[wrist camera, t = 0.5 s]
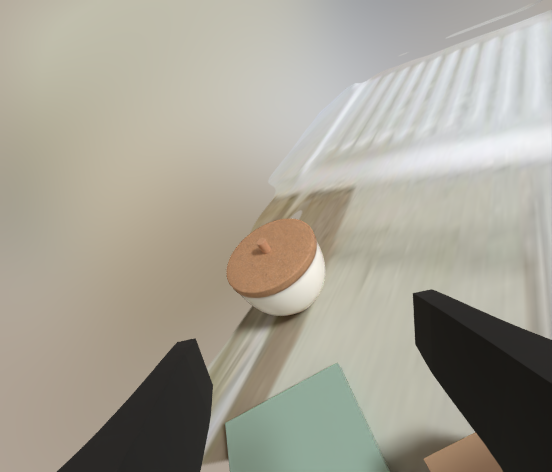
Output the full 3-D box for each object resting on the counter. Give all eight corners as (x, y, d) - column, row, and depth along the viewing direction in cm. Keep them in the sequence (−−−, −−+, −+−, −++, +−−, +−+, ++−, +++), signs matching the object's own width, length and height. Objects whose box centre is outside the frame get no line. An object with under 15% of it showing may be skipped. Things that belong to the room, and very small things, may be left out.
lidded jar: (295, 350, 31) (251, 300, 25) (244, 305, 39) (202, 260, 33) (356, 277, 34) (328, 218, 28) (297, 250, 42) (266, 200, 37)
